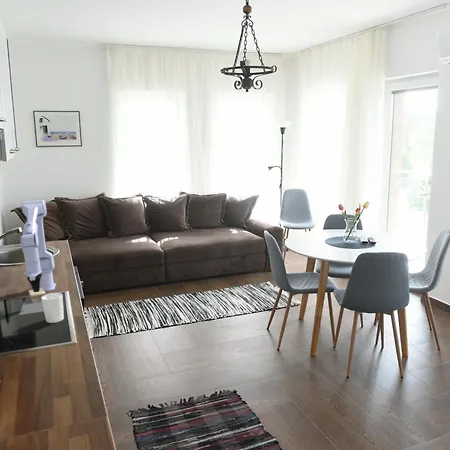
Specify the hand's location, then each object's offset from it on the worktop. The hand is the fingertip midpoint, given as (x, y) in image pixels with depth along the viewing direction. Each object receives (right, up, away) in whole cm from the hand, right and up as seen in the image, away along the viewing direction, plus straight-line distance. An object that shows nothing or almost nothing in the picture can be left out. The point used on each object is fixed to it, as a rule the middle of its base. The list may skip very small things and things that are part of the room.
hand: (36, 291), depth 201 cm
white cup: (+13, -9, -15) cm, 22 cm away
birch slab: (-2, -4, +7) cm, 8 cm away
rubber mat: (0, -6, +4) cm, 7 cm away
